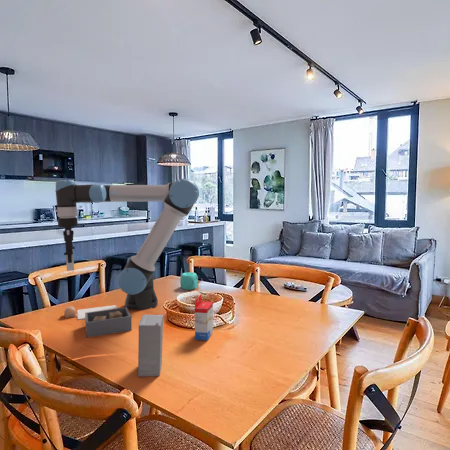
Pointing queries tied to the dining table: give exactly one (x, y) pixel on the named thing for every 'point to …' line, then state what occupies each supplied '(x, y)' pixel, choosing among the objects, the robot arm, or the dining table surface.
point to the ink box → (203, 319)
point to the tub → (107, 322)
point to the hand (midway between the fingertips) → (70, 267)
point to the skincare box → (150, 345)
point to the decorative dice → (189, 281)
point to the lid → (83, 311)
